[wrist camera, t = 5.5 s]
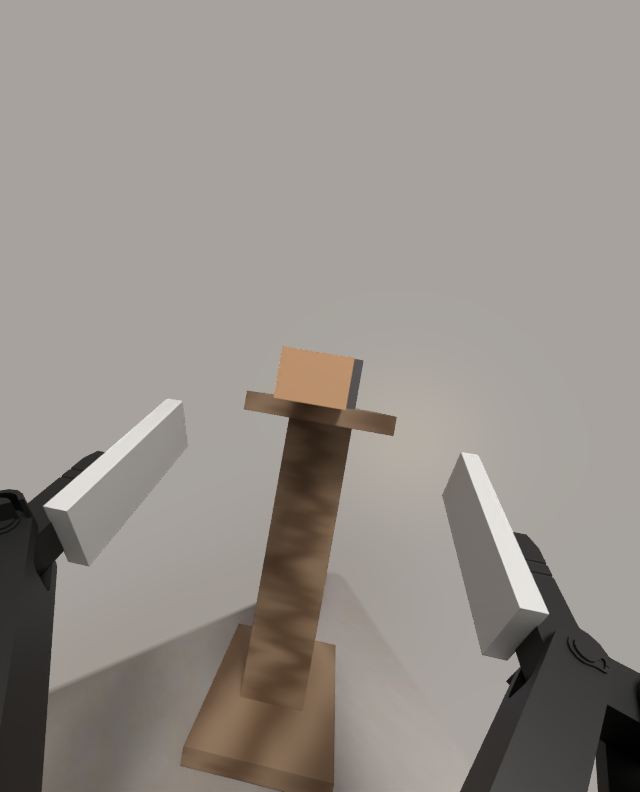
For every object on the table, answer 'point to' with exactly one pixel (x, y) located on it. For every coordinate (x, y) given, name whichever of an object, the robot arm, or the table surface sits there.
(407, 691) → the table surface
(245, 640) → the stand
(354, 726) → the table surface
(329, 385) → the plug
